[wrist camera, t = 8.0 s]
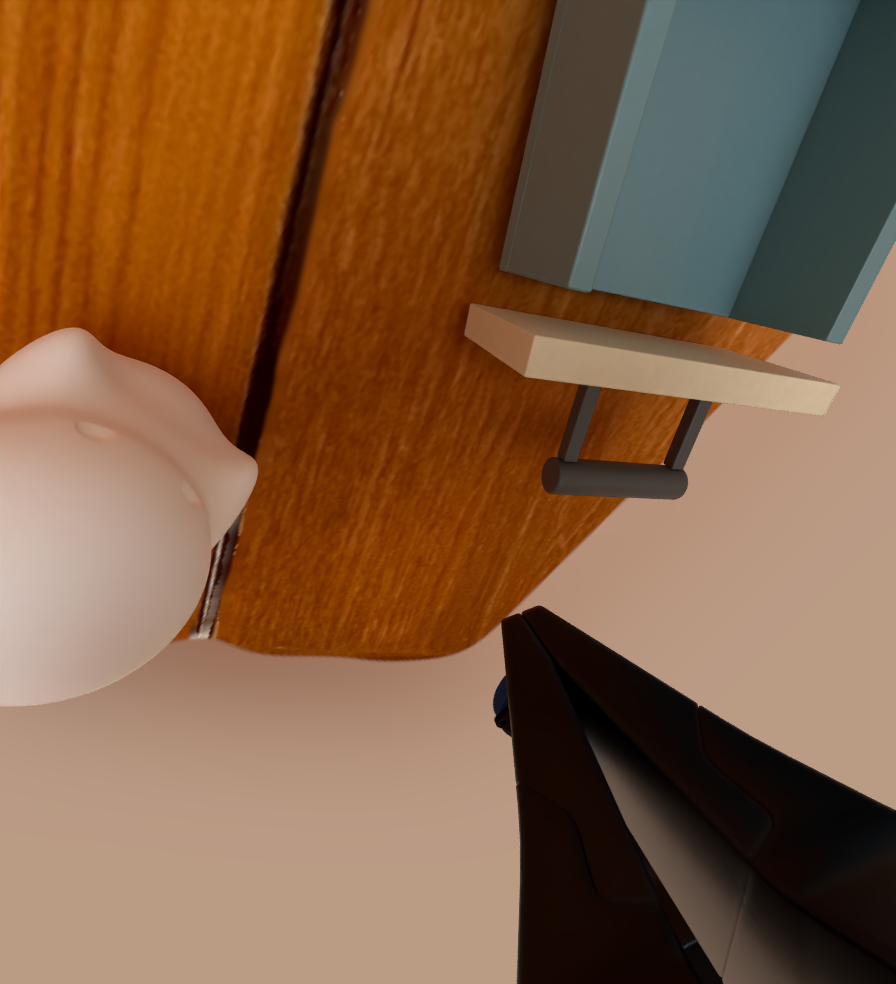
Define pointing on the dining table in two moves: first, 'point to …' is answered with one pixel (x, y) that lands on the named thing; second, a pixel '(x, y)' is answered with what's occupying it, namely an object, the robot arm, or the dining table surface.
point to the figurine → (102, 514)
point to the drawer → (698, 203)
